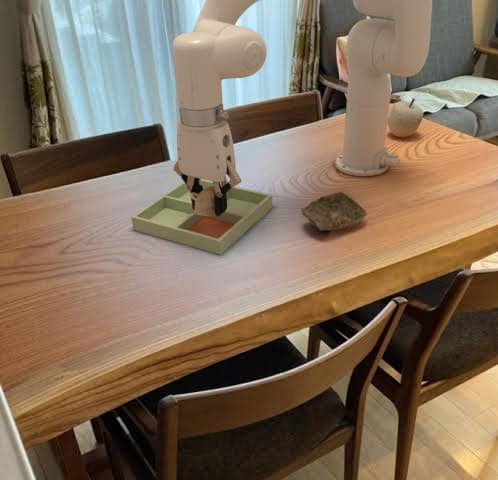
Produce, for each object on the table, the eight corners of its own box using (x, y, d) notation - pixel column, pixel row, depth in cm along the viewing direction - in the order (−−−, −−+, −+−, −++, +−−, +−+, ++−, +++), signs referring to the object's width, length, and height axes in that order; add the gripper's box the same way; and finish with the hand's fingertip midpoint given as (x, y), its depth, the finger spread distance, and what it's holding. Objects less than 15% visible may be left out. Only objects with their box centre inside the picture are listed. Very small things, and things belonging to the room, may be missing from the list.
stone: (328, 238, 102) (312, 198, 101) (305, 247, 109) (290, 210, 108) (374, 218, 107) (359, 180, 107) (349, 228, 114) (335, 192, 114)
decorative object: (380, 132, 148) (385, 94, 141) (409, 128, 149) (415, 91, 143) (394, 144, 141) (400, 105, 135) (425, 140, 142) (432, 101, 136)
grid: (272, 207, 116) (272, 194, 114) (220, 254, 102) (219, 241, 100) (191, 188, 124) (190, 176, 122) (133, 229, 110) (131, 216, 109)
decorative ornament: (232, 209, 105) (230, 183, 102) (197, 223, 101) (194, 197, 98) (219, 202, 108) (217, 177, 104) (184, 216, 104) (181, 190, 100)
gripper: (254, 114, 92) (257, 211, 103) (174, 101, 99) (185, 193, 110) (232, 128, 87) (237, 228, 98) (149, 114, 94) (163, 209, 105)
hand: (209, 209), depth 104 cm, fingers closed on decorative ornament, 4 cm apart
